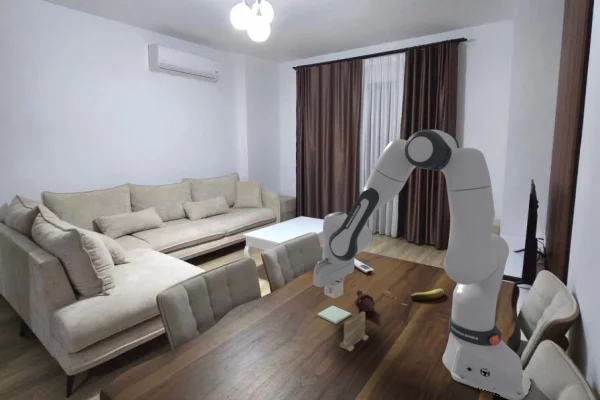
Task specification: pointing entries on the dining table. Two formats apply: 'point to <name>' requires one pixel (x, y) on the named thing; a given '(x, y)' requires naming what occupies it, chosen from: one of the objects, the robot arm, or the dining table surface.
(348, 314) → the green tile
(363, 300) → the maroon gnome figurine
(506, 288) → the dining table surface
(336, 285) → the letter cube
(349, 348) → the oak screen
